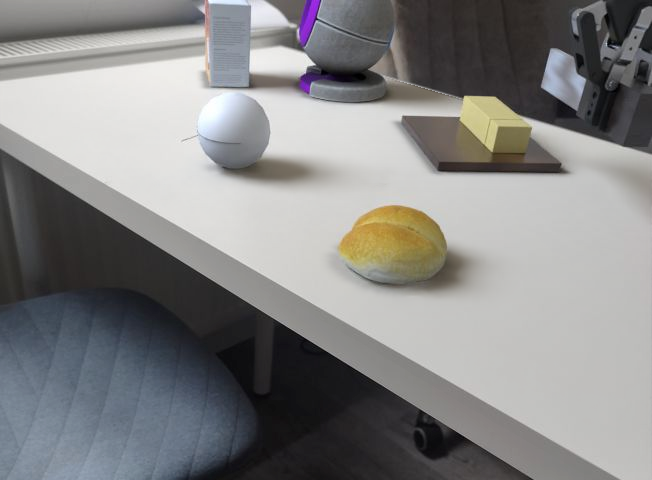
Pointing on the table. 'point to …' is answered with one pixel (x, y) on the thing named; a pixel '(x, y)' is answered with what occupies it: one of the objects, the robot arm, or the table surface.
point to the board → (471, 148)
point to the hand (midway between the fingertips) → (610, 129)
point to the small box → (227, 42)
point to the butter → (484, 114)
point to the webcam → (345, 48)
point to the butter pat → (508, 136)
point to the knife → (628, 108)
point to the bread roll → (394, 245)
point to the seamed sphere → (233, 130)
